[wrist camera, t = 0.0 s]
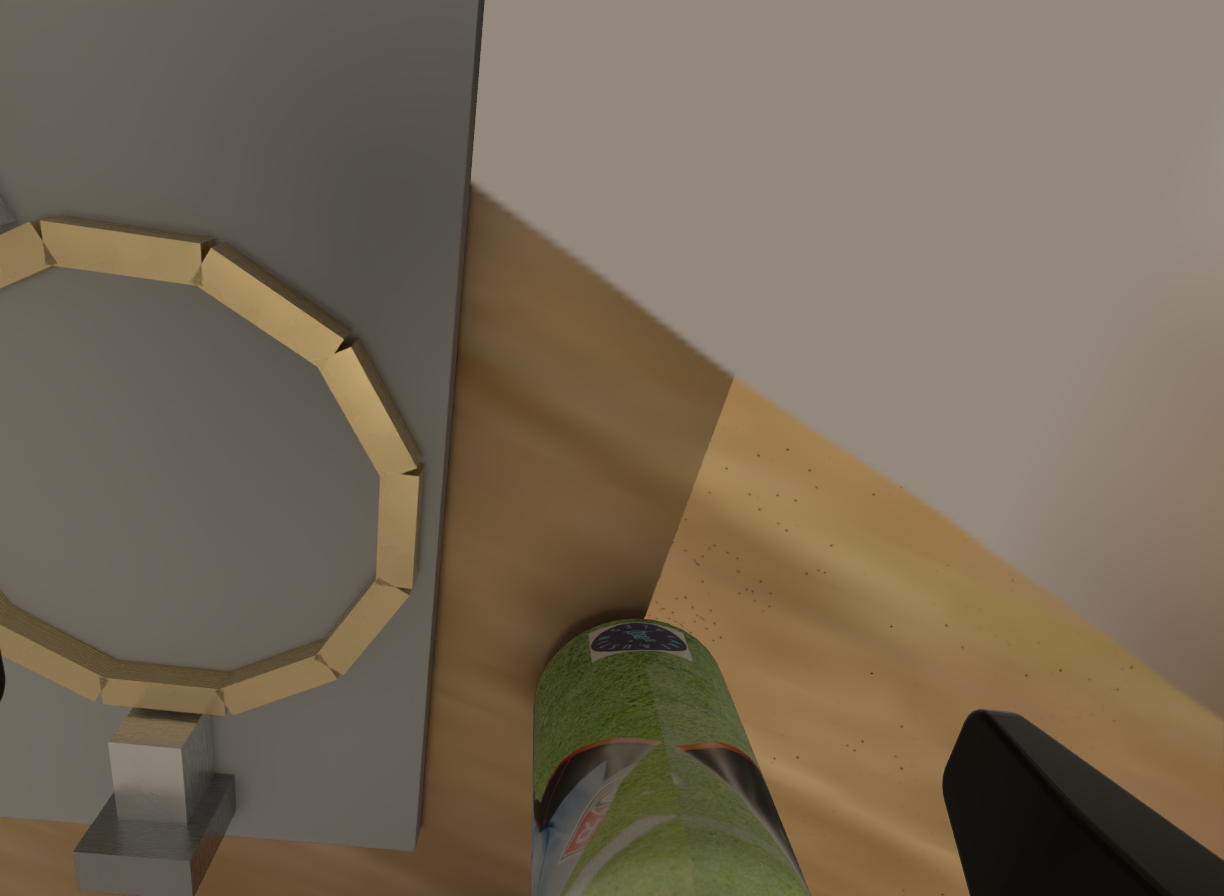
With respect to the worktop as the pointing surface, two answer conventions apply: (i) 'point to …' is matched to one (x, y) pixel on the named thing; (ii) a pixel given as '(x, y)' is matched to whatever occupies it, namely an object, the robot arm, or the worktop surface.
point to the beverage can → (649, 775)
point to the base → (230, 381)
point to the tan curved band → (188, 697)
